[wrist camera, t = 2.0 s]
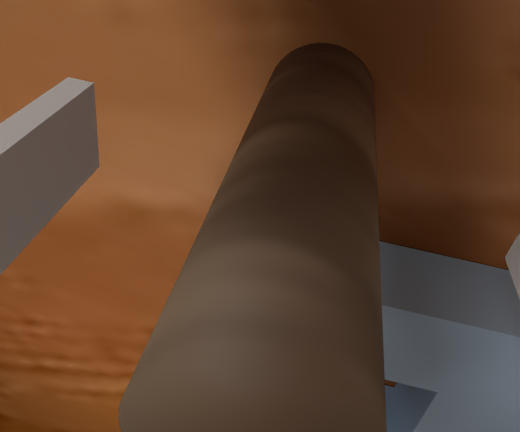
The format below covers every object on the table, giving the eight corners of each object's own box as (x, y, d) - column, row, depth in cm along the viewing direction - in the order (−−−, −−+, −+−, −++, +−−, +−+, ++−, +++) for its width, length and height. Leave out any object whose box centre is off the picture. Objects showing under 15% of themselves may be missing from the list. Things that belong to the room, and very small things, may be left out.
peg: (260, 132, 20) (121, 479, 8) (277, 33, 17) (114, 329, 6) (357, 153, 19) (347, 538, 8) (387, 55, 17) (430, 406, 6)
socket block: (219, 389, 30) (202, 450, 27) (248, 211, 22) (228, 269, 19) (441, 444, 30) (450, 514, 26) (558, 281, 21) (592, 354, 18)
